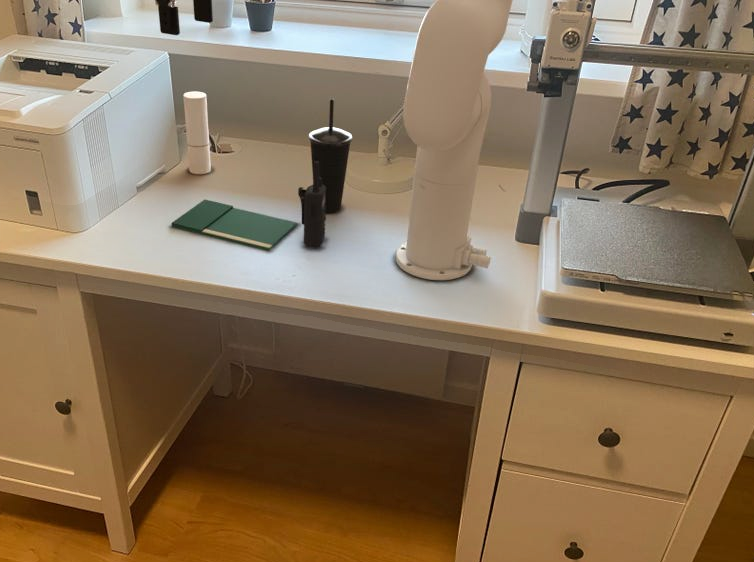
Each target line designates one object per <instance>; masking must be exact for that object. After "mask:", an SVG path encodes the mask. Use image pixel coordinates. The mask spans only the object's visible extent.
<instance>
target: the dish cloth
mask: <svg viewBox="0 0 754 562" xmlns="http://www.w3.org/2000/svg"><path fill="white" fill-rule="evenodd" d="M297 225H298V222H295V221H291V220H287V219H283V218H278V217H274V216H270V215H266V214H261V213H257V212H252V211H248V210H244V209H240V208H235V207H234V205H232V204H231V205H230V204H226V203H223V202H218V201H214V200H209V199H203V200H202V201H200V202H199V203H198V204H196V205H195V206H193V207H192V208H190V209H189V210H187V211H186V212H185V213H183V214H182V215H180V216H179V217H178V218H177V219H174V220H173V221H172V222H171V228H175V229H180V230H183V231H187V232H191V233H195V234H200V235H203V236H207V237H212V238H216V239H218V240H219V239H220V240H224V241H227V242H230V243H231V242H232V243H236V244H240V245H243V246H244V245H245V246H248V247H252V248H256V249H260V250H264V251H270V250H271V249H273V248H274V247H275V246H276V245H277V244H279V242H281V240H282V239H283V238H284V237H286V236H287V235H288V234H289V233H290V232H291V231H292V230H293V229H294V228H296V226H297Z"/></svg>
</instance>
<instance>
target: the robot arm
mask: <svg viewBox="0 0 754 562" xmlns="http://www.w3.org/2000/svg"><path fill="white" fill-rule="evenodd" d="M154 3H155V5H156V7H157V9H158V20H159V21H158V22H159V30H160V33H162V34H164V35H171V36H179V35H180V34H181V28H180V15H179V6H176V3H177V0H154ZM512 4H513V0H435V1H434V2H433V3H432V4H431V5H430V7H429V8H428V9H427V10H426V13H425V15H424V17H423V19H422V21H421V24H420V27H419V30H418V33H417V37H416V41H415V46H414V51H413V56H412V61H411V67H410V70H409V76H408V81H407V85H406V90H405V95H404V101H403V109H402V118H403V126H404V129H405V132H406V133H407V135H408V137H409V138H410V140H411V141H412V143H414V144H415V145H416V147H417V148H416V155H415V163H414V171H413V180H412V190H411V199H410V207H409V208H410V209H409V218H408V228H407V235H406V236H407V237H406V242H404V243H402V244H401V245H399V247H398V248H397V250H396V251H395V252H396V253H395V261H396V265H398V266H399V267H400V269H402V270H403V271H404V272H406V273H407V274H409V275H412V276H414V277H417V278H420V279H424V280H431V281H451V280H455V279H458V278H461V277H463V276H465V275H467V274H468V273H469V272H470V271H471V270H472V267H473V265H474V266H476V267H479V268H484V269H488V268H489V266H490V263H491V259H492V257H491V256H489V255H487V253H488V251H487V249H483V248H477V247H474V246H473V245H472V244H471V241H472V236H468V233H469V232H468V231H469V225H470V220H471V213H472V206H473V200H474V193H475V187H476V181H477V175H478V170H479V164H480V157H481V152H482V147H483V142H484V137H485V133H486V129H487V125H488V121H489V116H490V112H491V106H492V89H491V85H490V82H489V79H488V77H487V75H486V74H485V69H486V65H487V61H488V58H489V55H490V54H491V53H492V52H494V51H495V50H496V48H497V47H498V46H499V45H500V43H501V42H502V40H503V38H504V36H505V33H506V31H507V27H508V21H509V18H510V12H511V8H512ZM192 5H193V19H194V20H195V22H201V23H209V24H211V23H213V21H214V17H213V15H214V14H213V13H214V12H213V0H192Z"/></svg>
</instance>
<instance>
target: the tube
mask: <svg viewBox="0 0 754 562" xmlns="http://www.w3.org/2000/svg"><path fill="white" fill-rule="evenodd" d="M182 96H183V107H184V120H185V121H184V122H185V132H186V143H187V144H186V146H187V156H188V157H187V158H188V170H189V172H190V173H191V174H194V175H206V174H208V173H211V171H212V167H211V166H212V165H211V163H212V162H211V150H210V149H211V148H210V135H209V117H208V116H209V115H208V103H207V94H206V93H205V92H203V91H195V90H194V91H187V92H185V93H184V94H183V95H182Z"/></svg>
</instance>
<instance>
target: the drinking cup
mask: <svg viewBox="0 0 754 562" xmlns="http://www.w3.org/2000/svg"><path fill="white" fill-rule="evenodd" d="M334 105H335V99H334V98H330V99H329V114H328V117H329V119H328V126H327V127H326V126H325V127H321V128H318V129H315V130H313V131H311V132H310V133H309V134H308V140H309V141H310V153H311V156H310V157H311V168H312V169H311V170H312V175H313V174H314V162H315V161H318V162H319V177H321V178H322V185H324V186H325V187H326V212H325V214H334V213H337V212H340V210H341V208H342V207H341V206H342V202H343V197H344V195H343V194H344V187H345V182H346V176H347V175H346V174H347V168H348V161H349V153H350V149H351V148H350V146H351V143H352V142H353V136H352V134H351V133H350V132H348V131H346V130H343V129H341V128H338V127H334V108H335V107H334Z"/></svg>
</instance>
